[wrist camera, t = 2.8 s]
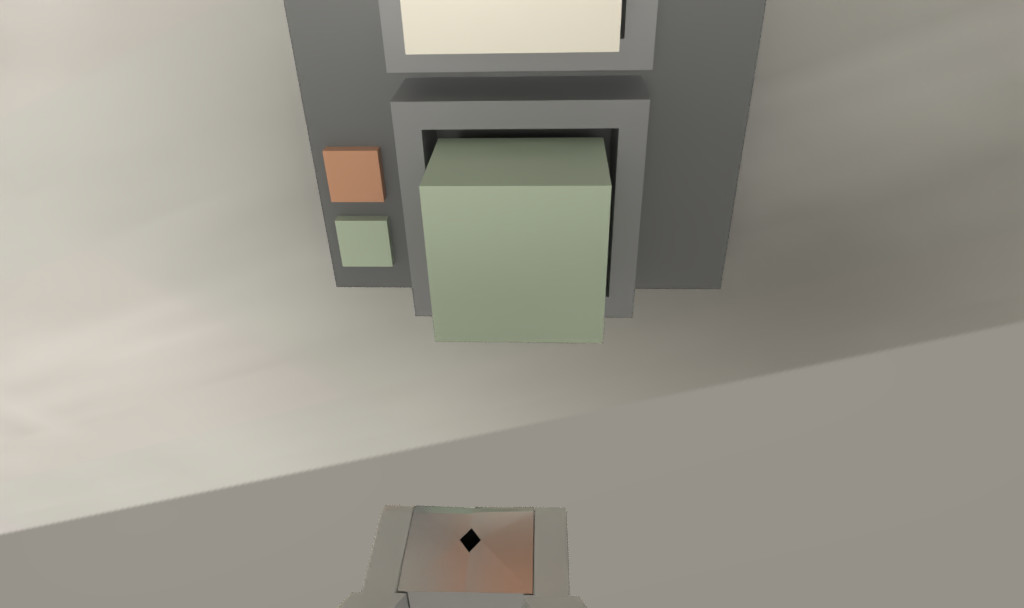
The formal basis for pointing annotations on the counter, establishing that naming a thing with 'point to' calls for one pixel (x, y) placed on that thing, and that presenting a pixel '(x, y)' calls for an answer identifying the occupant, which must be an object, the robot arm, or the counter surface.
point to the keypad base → (532, 132)
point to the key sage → (517, 239)
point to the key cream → (510, 26)
